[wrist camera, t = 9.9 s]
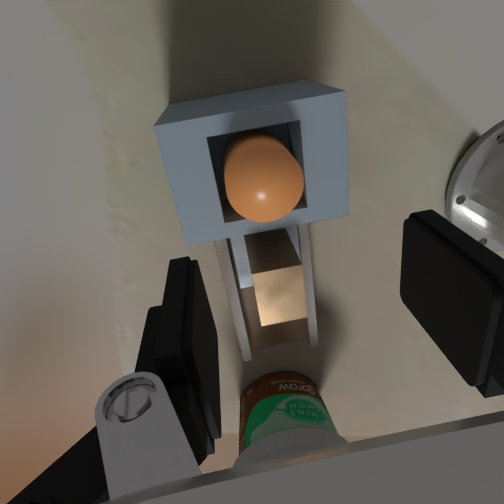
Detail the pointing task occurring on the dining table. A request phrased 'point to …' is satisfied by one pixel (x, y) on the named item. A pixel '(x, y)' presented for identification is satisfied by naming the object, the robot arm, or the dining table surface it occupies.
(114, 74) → the dining table surface
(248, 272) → the carriage
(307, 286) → the rail
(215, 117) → the blue-grey box
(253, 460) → the food container
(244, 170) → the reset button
